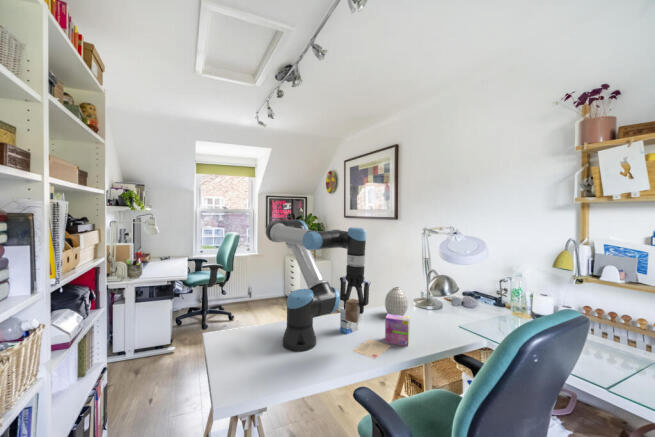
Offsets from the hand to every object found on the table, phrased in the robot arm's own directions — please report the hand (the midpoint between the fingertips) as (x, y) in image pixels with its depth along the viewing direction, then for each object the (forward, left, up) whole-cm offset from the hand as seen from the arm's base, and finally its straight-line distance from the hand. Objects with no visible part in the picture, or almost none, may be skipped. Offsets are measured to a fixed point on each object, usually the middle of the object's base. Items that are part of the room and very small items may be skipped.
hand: (353, 318), depth 127 cm
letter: (+5, +8, -14) cm, 17 cm away
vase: (-3, +52, -14) cm, 54 cm away
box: (+11, +21, -14) cm, 28 cm away
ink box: (-13, +18, -14) cm, 26 cm away
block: (0, 0, 0) cm, 0 cm away
